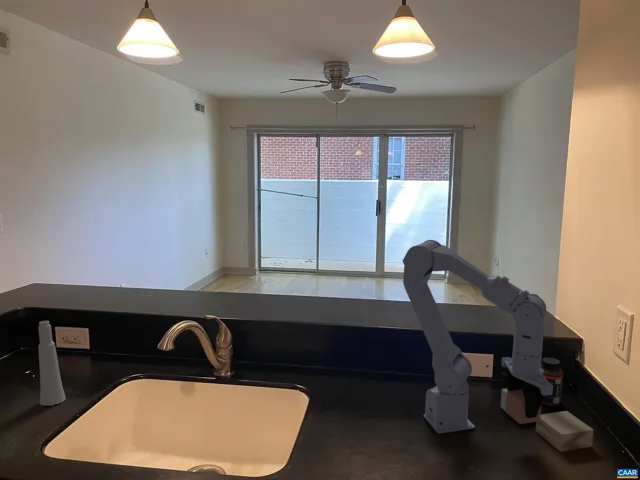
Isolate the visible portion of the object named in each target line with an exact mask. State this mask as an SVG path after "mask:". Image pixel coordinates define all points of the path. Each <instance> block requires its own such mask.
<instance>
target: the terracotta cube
mask: <svg viewBox="0 0 640 480" xmlns="http://www.w3.org/2000/svg"><path fill="white" fill-rule="evenodd" d="M541 412H542V405H541V406H540V409H539V411H538V414H537V416H536V417H534V418H527V417H526V413H525V398H524V394H523V391H522V389H520V390H513V391H507V399H506V411H505V413H506V414H507V415H508V416H510V417H511V418H512V419H513V420H514V421H516V422H517V423H518V424H519V425H521V424H529V423H536V422H537V421H540V416H541V415H542V413H541Z"/></svg>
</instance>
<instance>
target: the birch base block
mask: <svg viewBox="0 0 640 480" xmlns="http://www.w3.org/2000/svg"><path fill="white" fill-rule="evenodd" d="M535 423H536V424H535V432H536V433H537V434H538V435H540V436H541V437H542V438H543V439H545V440H546V441H547V442H548V443H549V444H550V445H551V446H553V447H554V448H555V449H556V450H558V451H559V452H561V453H562V452H567V451H572V450H573V451H574V450H580V449H585V448H586V449H587V448H591V447H593V441H594V440H593V439H594V429H593V428H592V427H590V426H589V425H587V424H586V423H585V422H583V421H582V420H580V419H579V418H578V417H577V416H575V415H573V414H572V413H571V412H569V411H568V410H564V411H563V410H562V411H557V412H550V413H545V414H544V413H543V414H542V413H541V416H540V421H537V422H535Z"/></svg>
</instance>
